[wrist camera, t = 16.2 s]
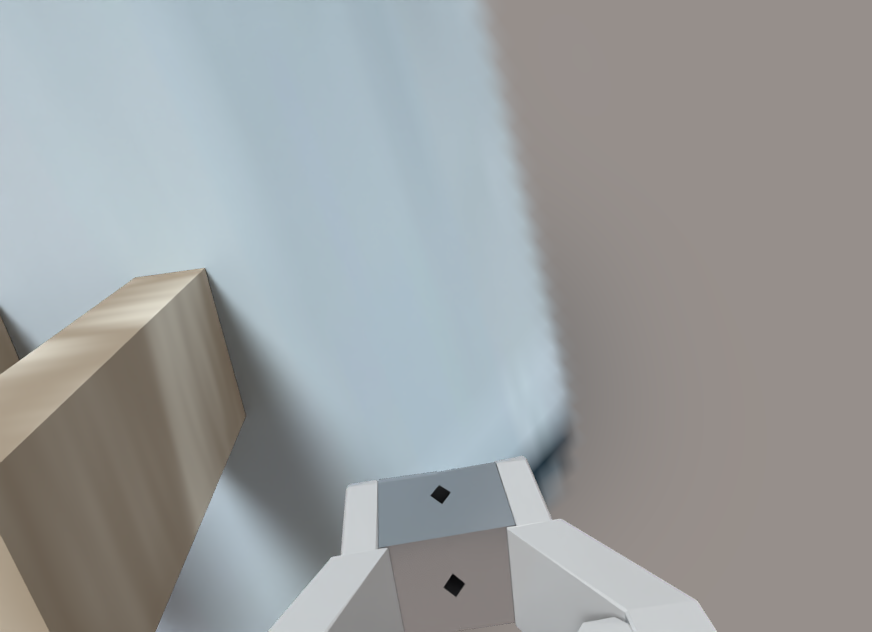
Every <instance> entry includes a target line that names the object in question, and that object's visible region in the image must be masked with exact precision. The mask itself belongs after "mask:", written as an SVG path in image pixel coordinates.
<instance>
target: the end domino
mask: <svg viewBox="0 0 872 632" xmlns="http://www.w3.org/2000/svg"><path fill="white" fill-rule="evenodd" d="M245 417H246V415H245V411H244V407H243V404H242V400H241V397H240V393H239V389H238V386H237V382H236V379H235V375H234V371H233V368H232V364H231V361H230V357H229V353H228V350H227V346H226V343H225V339H224V336H223V332H222V328H221V325H220V321H219V318H218V314H217V310H216V307H215V303H214V300H213V296H212V292H211V289H210V285H209V282H208V278H207V274H206V271H205V268H201V269H194V270H187V271H180V272H172V273H165V274H158V275H151V276H144V277H136V278H134V279H132V280H131V281H130V282H128V283H127V284H125V285H124V286H123V287H121V288H120V289H118V290H117V291H116V292H114V293H113V294H111V295H110V296H109V297H107V298H106V299H105V300H103V301H102V302H100V303H99V304H98V305H96V306H95V307H93V308H92V309H91V310H89V311H88V312H86V313H85V314H84V315H82V316H81V317H79V318H78V319H77V320H75V321H74V322H73V323H71V324H70V325H68V326H67V327H66V328H64V329H63V330H61V331H60V332H59V333H57V334H56V335H54V336H53V337H52V338H50V339H49V340H47V341H46V342H45V343H43V344H42V345H41V346H39V347H38V348H36V349H35V350H34V351H32V352H31V353H29V354H28V355H27V356H25V357H24V358H22V359H21V360H20V361H18V362H17V363H15V364H14V365H13V366H11V367H10V368H8V369H7V370H6V371H4V372H3V373H2V374H0V632H155V631H156V629H157V627H158V624H159V622H160V619H161V617H162V615H163V612H164V610H165V608H166V605H167V603H168V600H169V598H170V596H171V593H172V591H173V589H174V586H175V584H176V581H177V579H178V577H179V574H180V572H181V569H182V567H183V565H184V562H185V560H186V558H187V555H188V553H189V550H190V548H191V546H192V543H193V541H194V539H195V536H196V534H197V531H198V529H199V527H200V524H201V522H202V520H203V517H204V515H205V512H206V510H207V508H208V505H209V503H210V501H211V498H212V496H213V493H214V491H215V489H216V486H217V484H218V482H219V479H220V477H221V474H222V472H223V470H224V467H225V465H226V462H227V460H228V458H229V455H230V453H231V451H232V448H233V446H234V443H235V441H236V439H237V436H238V434H239V432H240V429H241V427H242V424H243V422H244V420H245Z"/></svg>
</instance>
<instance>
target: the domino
mask: <svg viewBox="0 0 872 632" xmlns="http://www.w3.org/2000/svg"><path fill="white" fill-rule="evenodd" d="M18 361H20V360H19V358H18V356H17V353H16V351H15V349H14V346H13V344H12V342H11V339H10V337H9V335H8V332H7V330H6V328H5V325H4V323H3V321H2V318H1V316H0V374H2V373H3V372H4V371H6V370H7V369H8V368H10V367H11V366H13V365H14V364H15V363H17V362H18Z"/></svg>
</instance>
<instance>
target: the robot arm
mask: <svg viewBox="0 0 872 632" xmlns="http://www.w3.org/2000/svg"><path fill="white" fill-rule="evenodd" d="M509 623H516V626H517V627H518V628H519V629H520V630H521V631H522V632H717V631H716V629H715V627H714V626H713V624H712V623H711V621H710V620H709V618H708V616H707V615H706V613H705V612H704V610H703V609H702V607H701V606H700V604H699V603H698V601H697V600H696V599H694V598H692V597H691V596H689V595H687V594H686V593H684V592H682V591H680V590H679V589H677V588H675V587H674V586H672V585H670V584H669V583H667V582H666V581H664V580H662V579H661V578H659V577H658V576H656V575H654V574H652V573H651V572H649V571H647V570H646V569H644V568H642V567H641V566H639V565H638V564H636V563H634V562H632V561H631V560H629V559H628V558H626V557H624V556H623V555H621V554H619V553H618V552H616V551H614V550H613V549H611V548H609V547H608V546H606V545H605V544H603V543H601V542H599V541H598V540H596V539H595V538H593V537H591V536H589V535H588V534H586V533H585V532H583V531H581V530H580V529H578V528H576V527H575V526H573V525H571V524H569V523H568V522H566V521H565V520H563V519H555V520H552V517H551V515H550V513H549V510H548V508H547V506H546V503H545V501H544V499H543V496H542V494H541V492H540V489H539V487H538V485H537V482H536V480H535V478H534V475H533V473H532V471H531V468H530V466H529V464H528V461H527V459H526V458H525V457H524V456H519V457H514V458H509V459H503V460H498V461H494V462H493V463H487V464H481V465H475V466H469V467H463V468H457V469H451V470H445V471H439V472H437V471H435V472H428V473H421V474H414V475H407V476H399V477H392V478H385V479H379V481H378V480H372V481H365V482H359V483H353V484H349V485H348V487H347V489H346V496H345V508H344V520H343V533H342V545H341V555H340V556H334V557H331V558H330V559H329V560H328V562H327V563H326V564H325V565H324V566H323V567H322V569H321V570H320V571H319V572H318V573H317V574H316V576H315V577H314V578H313V579H312V580H311V581H310V583H309V584H308V585H307V586H306V587H305V588H304V590H303V591H302V592H301V593H300V594H299V595H298V597H297V598H296V599H295V600H294V601H293V602H292V604H291V605H290V606H289V607H288V608H287V609H286V611H285V612H284V613H283V614H282V615H281V616H280V618H279V619H278V620H277V621H276V622H275V623H274V625H273V626H272V627H271V628H270V629H269V630H268V632H455V631H460V630H467V629H475V628H481V627H488V626H495V625H502V624H509ZM460 628H461V629H460Z"/></svg>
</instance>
